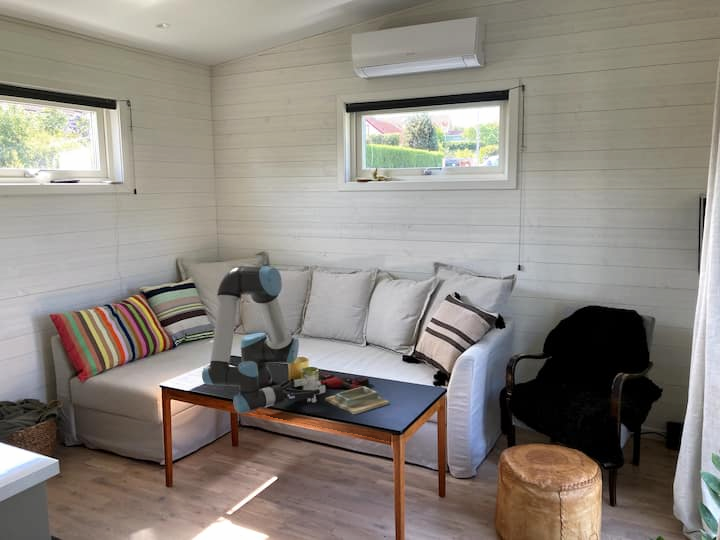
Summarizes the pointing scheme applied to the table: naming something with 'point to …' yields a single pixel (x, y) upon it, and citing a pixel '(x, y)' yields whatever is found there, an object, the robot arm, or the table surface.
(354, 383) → the toy motorcycle
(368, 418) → the table surface
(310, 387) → the hat wearing toy figure
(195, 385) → the table surface
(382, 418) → the table surface
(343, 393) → the jig board
